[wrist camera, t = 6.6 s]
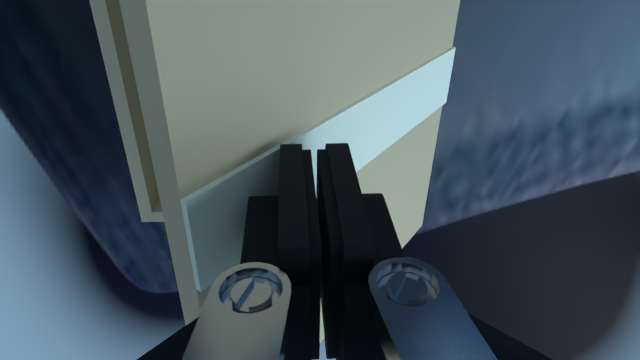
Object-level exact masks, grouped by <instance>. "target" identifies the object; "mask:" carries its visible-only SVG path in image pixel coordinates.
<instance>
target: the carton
mask: <svg viewBox="0 0 640 360" xmlns="http://www.w3.org/2000/svg"><path fill="white" fill-rule="evenodd" d="M89 1H90V6H91V10H92V14H93V18H94V22H95V27H96V31H97V35H98V39H99V43H100V48H101V52H102V56H103V60H104V64H105V69H106V73H107V77H108V81H109V85H110V90H111V94H112V98H113V102H114V106H115V111H116V115H117V119H118V123H119V127H120V132H121V136H122V140H123V144H124V148H125V153H126V157H127V161H128V165H129V169H130V174H131V178H132V182H133V186H134V190H135V195H136V199H137V203H138V207H139V211H140V216H141V220H142V222H164V217H163V212H162V207H161V202H160V197H159V193H158V188H157V183H156V178H155V173H154V168H153V163H152V158H151V154H150V149H149V144H148V139H147V134H146V129H145V124H144V119H143V115H142V110H141V105H140V100H139V95H138V90H137V85H136V80H135V76H134V71H133V66H132V61H131V56H130V51H129V46H128V41H127V37H126V32H125V27H124V22H123V17H122V12H121V7H120V3H119V0H89Z"/></svg>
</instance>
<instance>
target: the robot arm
mask: <svg viewBox="0 0 640 360" xmlns="http://www.w3.org/2000/svg"><path fill="white" fill-rule="evenodd" d="M320 304H321V306H322V316H323V327H324V337H325V347H326V356H327V359H332V358H336V360H552V359H550V358H548V357H546V356H545V355H543V354H541V353H539V352H538V351H536V350H534V349H532V348H530V347H528V346H527V345H525V344H523V343H521V342H519V341H518V340H516V339H514V338H512V337H510V336H508V335H507V334H505V333H503V332H501V331H499V330H497V329H496V328H494V327H492V326H490V325H488V324H486V323H485V322H483V321H481V320H479V319H477V318H476V317H474V316H472V315H470V314H468V313H467V312H466V310H465V309H464V307H463V306H462V305H461V303H460V301H459V300H458V298H457V296H456V295H455V294H454V292H453V290H452V289H451V287H450V286H449V284H448V283H447V281H446V280H445V278H444V277H443V276H442V275H441V274H440V272H439V271H438V270H437V269H435V268H434V267H432V266H431V265H429V264H428V263H425V262H422V261H420V260H417V259H412V258H407V257H404V254H403V251H402V248H401V245H400V242H399V239H398V236H397V233H396V230H395V228H394V225H393V222H392V219H391V216H390V213H389V210H388V207H387V204H386V202H385V199H384V196H383V194H381V193H364V194H362V192H361V189H360V185H359V181H358V178H357V174H356V170H355V167H354V163H353V159H352V156H351V152H350V148H349V145H348V143H326V145H325V149H317V185H316V192H315V183H314V174H313V165H312V156H311V149H309V150H302V144H280V171H279V196H249V198H248V205H247V213H246V221H245V229H244V237H243V245H242V253H241V261H240V264H239V265H235V266H233V267H231V268H229V269H227V270H225V271H224V272H223V273H222V274H221V275H219V276H218V277H217V278H216V280H215V281H214V283H213V284H212V286H211V288H210V291H209V293H208V296H207V298H206V301H205V303H204V306H203V308H202V311H201V313H200V316H199V317H198V318H196V319H195V320H193V321H192V322H190V323H189V324H187V325H186V326H185V327H183V328H182V329H180V330H179V331H177V332H176V333H175V334H173V335H172V336H170V337H169V338H167V339H166V340H164V341H163V342H162V343H160V344H159V345H157V346H156V347H154V348H153V349H152V350H150V351H149V352H147V353H146V354H144V355H143V356H141V357H140V358H139V359H137V360H312V359H319V347H320V346H319V345H320Z"/></svg>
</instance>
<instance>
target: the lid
mask: <svg viewBox="0 0 640 360" xmlns="http://www.w3.org/2000/svg"><path fill="white" fill-rule="evenodd" d="M119 3H120V7H121V12H122V17H123V22H124V27H125V32H126V37H127V41H128V46H129V51H130V56H131V61H132V66H133V71H134V76H135V80H136V85H137V90H138V95H139V100H140V105H141V110H142V115H143V119H144V124H145V129H146V134H147V139H148V144H149V149H150V154H151V158H152V163H153V168H154V173H155V178H156V183H157V188H158V193H159V197H160V202H161V207H162V212H163V217H164V222H165V227H166V231H167V236H168V241H169V246H170V251H171V256H172V261H173V266H174V270H175V275H176V280H177V285H178V290H179V295H180V299H181V305H182V309H183V314H184V319H185V324H186V325H187V324H189V323H190V322H192V321H193V320H195V319H196V318H198V317H199V316H200V313H201V311H202V308H203V306H204V303H205V301H206V298H207V296H208V293H209V291H210V288H211V286H212V284H213V283H214V281H215V280H216V278H217V277H218V276H219V275H221V274H222V273H223V272H224V271H225V270H227V269H229V268H231V267H233V266H235V265H239V264H240V261H241V253H242V245H243V237H244V229H245V221H246V213H247V205H248V198H249V196H279V171H280V144H302V150H309V149H311V156H312V165H313V174H314V183H315V192H316V185H317V149H325V145H326V143H348V145H349V148H350V152H351V156H352V159H353V163H354V167H355V170H356V174H357V178H358V181H359V185H360V189H361V192H362V194H364V193H381V194H383V196H384V199H385V202H386V204H387V207H388V210H389V213H390V216H391V219H392V222H393V225H394V228H395V230H396V233H397V236H398V239H399V242H400V245H401V248H403V247H404V246H405V244H406V243H407V242H408V241H409V240H410V239H411V237H412V236H413V235H414V234H415V233H416V232H417V231H418V229H419V228H420V227H421V226H422V222H423V216H424V210H425V204H426V199H427V193H428V187H429V181H430V175H431V169H432V163H433V157H434V151H435V145H436V140H437V134H438V128H439V122H440V116H441V110H442V105H444V104H445V103H446V101H447V95H448V89H449V83H450V78H451V72H452V66H453V60H454V54H455V49H456V47H452V45H453V39H454V33H455V27H456V22H457V16H458V10H459V4H460V0H119ZM324 338H325V337H324V327H323V316H322V306H321V304H320V342H321V341H322V340H323V339H324Z"/></svg>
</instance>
